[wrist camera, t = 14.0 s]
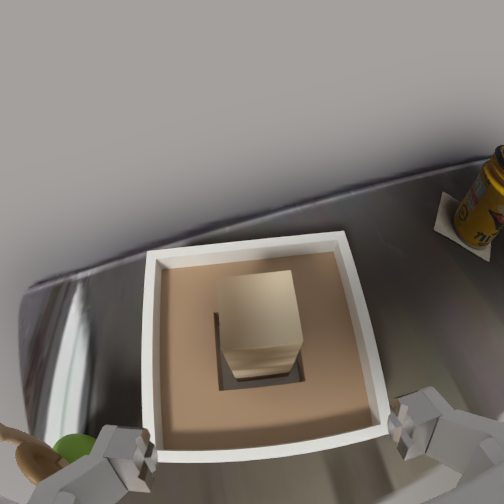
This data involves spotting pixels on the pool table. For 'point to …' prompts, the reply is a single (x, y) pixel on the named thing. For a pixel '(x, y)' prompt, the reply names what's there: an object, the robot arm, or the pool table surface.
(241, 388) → the open box
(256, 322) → the beech peg
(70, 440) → the snail figurine
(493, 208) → the condiment
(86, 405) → the pool table surface
